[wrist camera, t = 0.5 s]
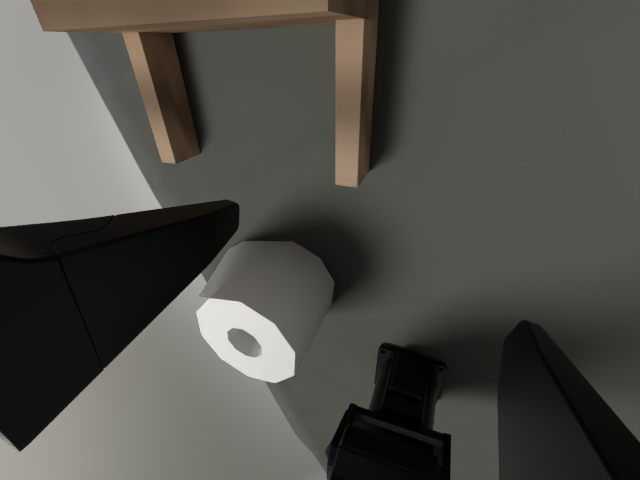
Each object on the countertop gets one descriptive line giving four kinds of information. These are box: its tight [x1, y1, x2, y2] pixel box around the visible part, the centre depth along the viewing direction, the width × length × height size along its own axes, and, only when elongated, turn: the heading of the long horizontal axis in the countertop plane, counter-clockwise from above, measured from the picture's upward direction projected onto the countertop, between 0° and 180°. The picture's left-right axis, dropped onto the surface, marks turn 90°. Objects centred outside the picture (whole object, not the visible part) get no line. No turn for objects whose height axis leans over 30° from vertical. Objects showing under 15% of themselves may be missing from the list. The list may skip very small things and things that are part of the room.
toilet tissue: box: [196, 241, 335, 383], centre depth 29 cm, size 9×13×9 cm
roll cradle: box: [30, 0, 379, 187], centre depth 19 cm, size 10×17×8 cm, turn 92°
